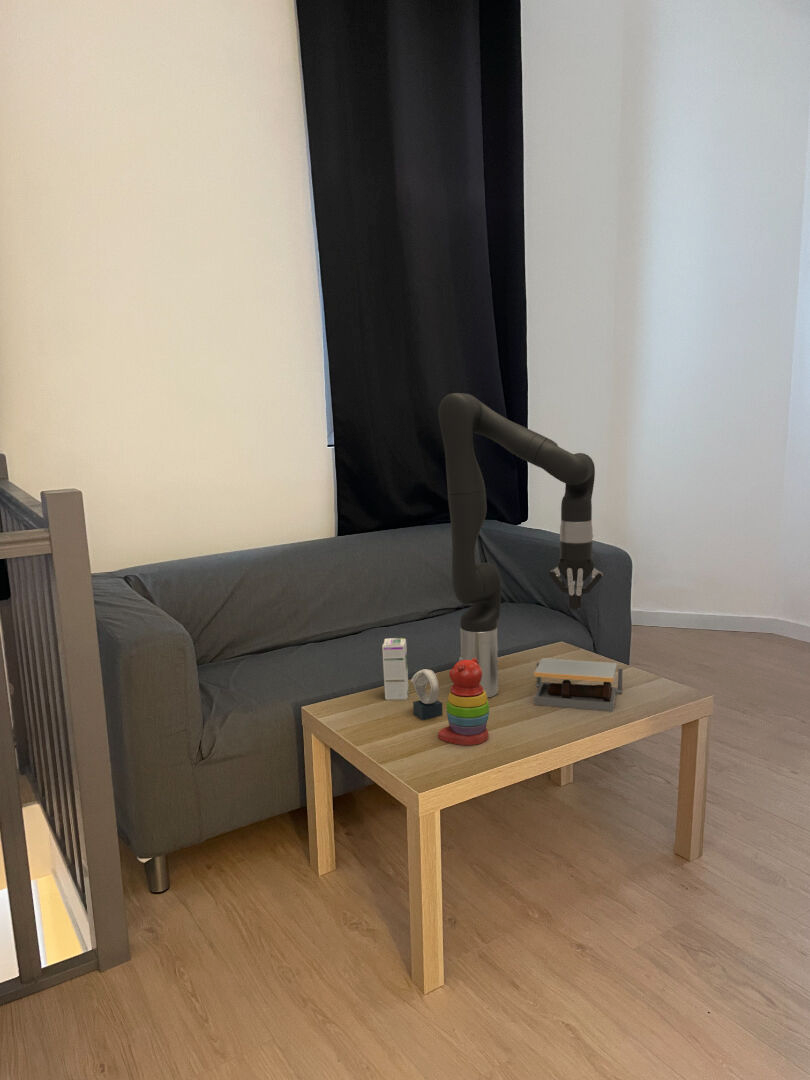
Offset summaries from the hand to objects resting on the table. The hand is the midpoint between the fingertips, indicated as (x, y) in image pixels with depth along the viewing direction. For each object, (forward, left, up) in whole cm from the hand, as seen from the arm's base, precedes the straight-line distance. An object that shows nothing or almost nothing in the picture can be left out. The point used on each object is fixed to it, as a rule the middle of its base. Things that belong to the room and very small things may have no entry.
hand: (575, 609), depth 198 cm
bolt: (+1, 0, -23) cm, 23 cm away
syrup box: (-44, -6, -24) cm, 50 cm away
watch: (-33, -16, -24) cm, 44 cm away
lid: (0, +3, -17) cm, 17 cm away
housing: (0, +3, -23) cm, 24 cm away
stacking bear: (-21, -26, -24) cm, 41 cm away
